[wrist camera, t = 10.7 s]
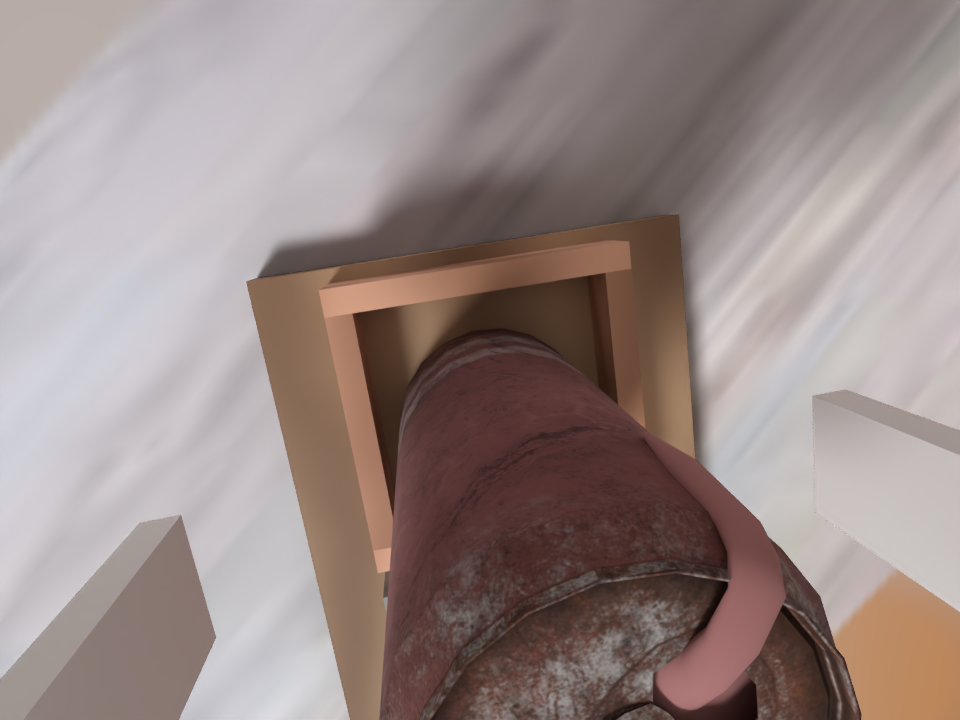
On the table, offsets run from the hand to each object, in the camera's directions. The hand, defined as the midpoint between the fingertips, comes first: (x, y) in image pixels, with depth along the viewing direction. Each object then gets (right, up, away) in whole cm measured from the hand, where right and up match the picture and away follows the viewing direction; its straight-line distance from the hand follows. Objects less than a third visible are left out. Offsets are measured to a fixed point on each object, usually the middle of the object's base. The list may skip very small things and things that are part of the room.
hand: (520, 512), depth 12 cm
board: (0, -3, +10) cm, 11 cm away
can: (0, +2, +8) cm, 8 cm away
